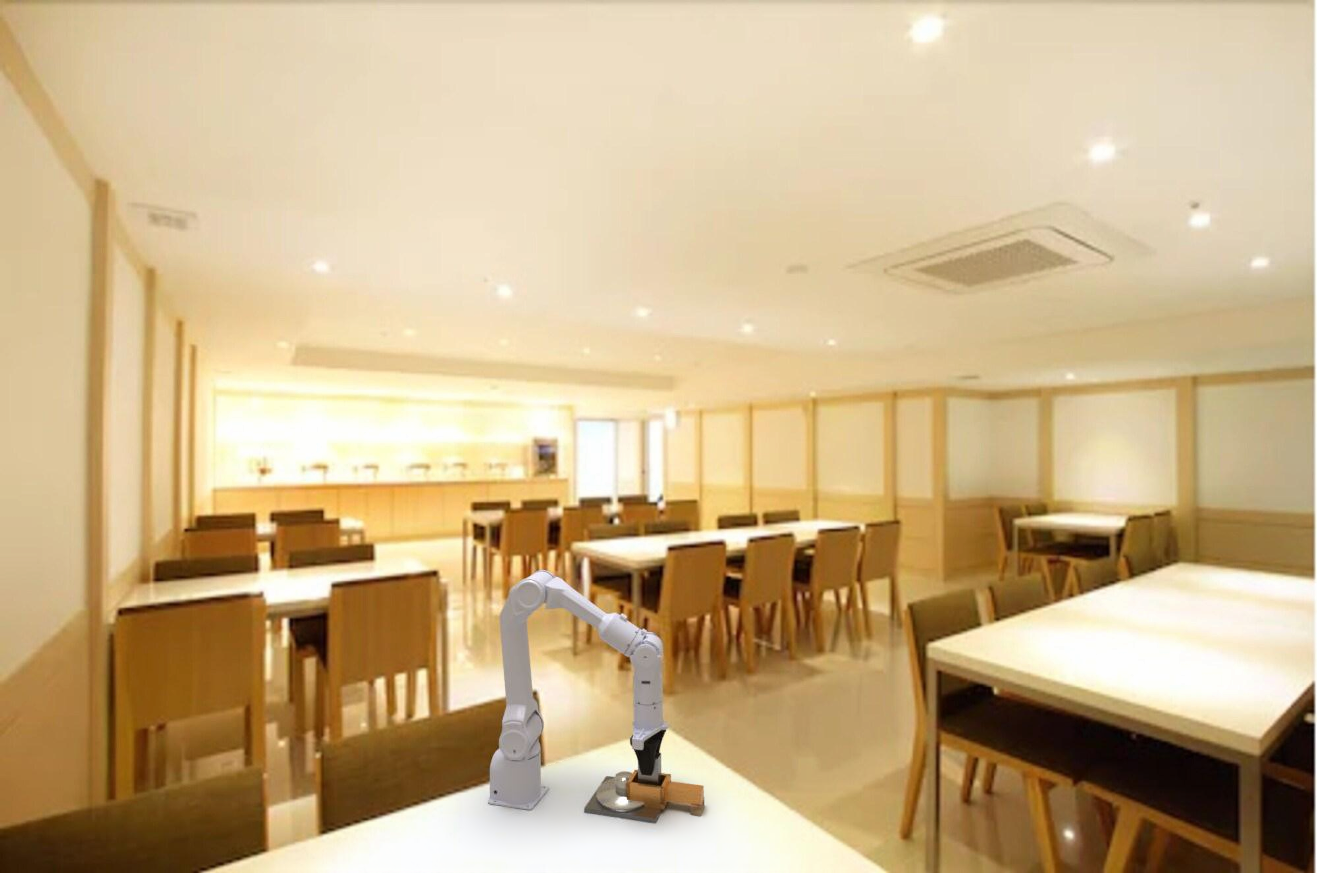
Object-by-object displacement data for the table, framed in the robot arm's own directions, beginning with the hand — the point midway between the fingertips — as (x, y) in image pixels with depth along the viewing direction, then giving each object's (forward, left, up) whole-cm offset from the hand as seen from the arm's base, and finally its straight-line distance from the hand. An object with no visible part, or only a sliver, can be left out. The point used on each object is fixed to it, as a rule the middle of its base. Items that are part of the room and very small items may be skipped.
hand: (648, 770), depth 119 cm
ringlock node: (0, 0, -6) cm, 6 cm away
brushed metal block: (0, 0, -4) cm, 4 cm away
